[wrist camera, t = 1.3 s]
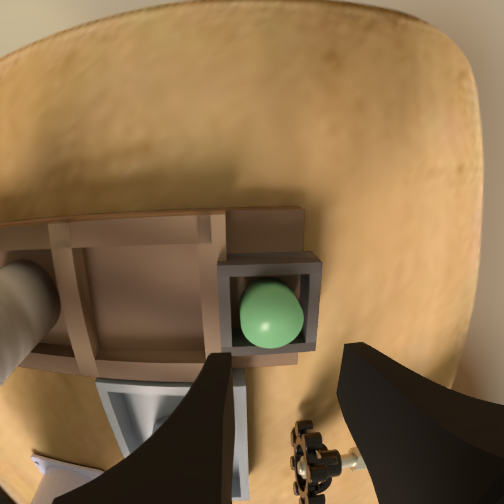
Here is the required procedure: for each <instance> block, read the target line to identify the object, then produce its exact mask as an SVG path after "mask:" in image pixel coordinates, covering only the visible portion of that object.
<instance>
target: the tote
mask: <svg viewBox="0 0 504 504" xmlns="http://www.w3.org/2000/svg"><path fill="white" fill-rule="evenodd" d="M232 374H233V392H234V411H235V445H234V461H233V477H232V501H244V500H249V473H248V441H247V406H246V381H245V371H244V368H232ZM193 383H194V382H162V381H139V380H123V379H110V378H99V377H97V379H96V381H95V384H96V387H97V390H98V393H99V396H100V399H101V402H102V405H103V407H104V410H105V413H106V416H107V418H108V421H109V423H110V426H111V428H112V431H113V433H114V436H115V438H116V441H117V443H118V445H119V448H120V450H121V452H122V455H123V457H124V459H125V458H126V457H127V456H128V455H130V454H131V453H132V452H133V451H135V450H136V449H137V448H138V447H139V446H140V445H141V444H142V443H144V442H145V441H146V440H147V439H148V438H149V437H150V436H151V435H152V430H153V426H154V424H155V423H156V421H157V420H158V419H160V418H162V417H164V416H166V415H171V414H172V412H173V411H174V410H175V408H176V407H177V406H178V404H179V403H180V402H181V401H182V399H183V398H184V397H185V395H186V394H187V392H188V391H189V389H190V387H191V386H192V384H193Z"/></svg>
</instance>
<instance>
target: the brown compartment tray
mask: <svg viewBox="0 0 504 504" xmlns="http://www.w3.org/2000/svg"><path fill="white" fill-rule="evenodd" d="M303 248H304V209H303V208H301V207H237V208H202V209H176V210H155V211H136V212H119V213H104V214H90V215H77V216H64V217H53V218H42V219H31V220H21V221H11V222H2V223H0V386H1V385H2V384H3V383H4V382H5V380H6V379H7V378H8V377H9V376H10V374H11V373H12V372H13V371H14V370H15V369H16V367H17V366H19V367H25V368H31V369H37V370H43V371H49V372H56V373H63V374H71V375H80V376H89V377H99V378H110V379H123V380H139V381H162V382H194V381H195V380H196V378H197V376H198V375H199V373H200V371H201V369H202V367H203V365H204V363H205V361H206V359H207V356H208V355H209V354H210V353H219V352H231V354H232V368H250V367H268V366H283V365H295V364H297V362H298V352H308V351H315V348H316V338H317V327H318V315H319V302H320V288H321V272H322V262H321V261H320V260H319V259H318V257H317V256H316V255H315V254H314V253H313V252H312V251H304V252H303ZM266 277H272V278H277V279H280V280H282V281H284V282H285V283H287V284H288V285H289V286H290V287H291V289H292V291H293V292H294V294H295V296H296V298H297V300H298V302H299V304H300V306H301V308H302V311H303V315H304V322H303V326H302V329H301V331H300V333H299V334H298V335H297V337H296V338H295V339H294V340H292V341H291V342H290V343H288V344H286V345H284V346H281V347H278V348H262V347H259V346H256V345H254V344H253V343H251V342H250V341H249V340H248V339H247V338H246V337H245V335H244V333H243V331H242V328H241V319H240V308H239V301H240V297H241V294H242V292H243V291H244V289H245V288H246V287H247V286H248V285H249V284H250V283H252V282H253V281H255V280H258V279H261V278H266Z"/></svg>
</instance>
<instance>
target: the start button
mask: <svg viewBox="0 0 504 504" xmlns="http://www.w3.org/2000/svg"><path fill="white" fill-rule="evenodd" d="M239 308H240V319H241V328H242V331H243V333H244V335H245V337H246V338H247V339H248V340H249V341H250V342H251V343H253V344H254V345H256V346H259V347H262V348H278V347H281V346H284V345H286V344H288V343H290V342H291V341H292V340H294V339H295V338H296V337H297V335H298V334H299V333H300V331H301V329H302V326H303V322H304V315H303V311H302V308H301V306H300V304H299V302H298V300H297V298H296V296H295V294H294V292H293V291H292V289H291V287H290V286H289V285H288V284H287V283H285V282H284V281H282V280H280V279H277V278H272V277H266V278H261V279H258V280H255V281H253V282H252V283H250V284H249V285H248V286H247V287H246V288H245V289H244V291H243V292H242V294H241V297H240V301H239Z"/></svg>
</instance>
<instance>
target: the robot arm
mask: <svg viewBox="0 0 504 504" xmlns="http://www.w3.org/2000/svg"><path fill="white" fill-rule="evenodd" d="M337 397H338V401H339V404H340V408H341V411H342V414H343V417H344V420H345V422H346V424H347V426H348V428H349V431H350V433H351V435H352V437H353V439H354V441H355V443H356V446H357V448H358V450H359V452H360V454H361V456H362V458H363V460H364V463H365V465H366V467H367V469H368V472H369V474H370V476H371V479H372V482H373V485H374V488H375V492H376V495H377V498H378V502H379V504H504V405H500V404H496V403H492V402H488V401H484V400H480V399H476V398H473V397H470V396H467V395H464V394H461V393H459V392H456V391H454V390H451V389H448V388H446V387H444V386H441V385H439V384H437V383H435V382H433V381H431V380H429V379H427V378H425V377H423V376H421V375H419V374H417V373H415V372H414V371H412V370H410V369H408V368H406V367H405V366H403V365H401V364H399V363H398V362H396V361H394V360H393V359H391V358H389V357H388V356H386V355H384V354H383V353H381V352H379V351H378V350H376V349H374V348H373V347H371V346H369V345H367V344H365V343H363V342H358V343H349V344H344V350H343V357H342V363H341V370H340V376H339V382H338V387H337ZM234 445H235V411H234V392H233V374H232V354H231V352H219V353H210V354H209V355H208V356H207V359H206V361H205V363H204V365H203V367H202V369H201V371H200V373H199V375H198V376H197V378H196V380H195V381H194V383H193V384H192V386H191V387H190V389H189V391H188V392H187V394H186V395H185V397H184V398H183V399H182V401H181V402H180V403H179V404H178V406H177V407H176V408H175V410H174V411H173V412H172V414H171V415H170V416H169V417H168V418H167V419H166V421H165V422H164V423H163V424H162V425H161V426H160V427H159V428H158V429H157V430H156V431H155V432H154V433H153V434H152V435H151V436H150V437H149V438H148V439H147V440H146V441H145V442H144V443H142V444H141V445H140V446H139V447H138V448H137V449H136V450H135V451H133V452H132V453H131V454H130V455H128V456H127V457H126V458H125V459H123V460H122V461H120V462H119V463H117V464H116V465H115V466H113V467H112V468H110V469H109V470H107V471H106V472H103V471H101V470H98V469H93V468H88V467H83V466H79V465H74V464H70V463H65V462H61V461H57V460H54V459H50V458H46V457H43V456H39V455H36V454H32V455H31V459H32V460H33V462H34V463H35V465H36V466H37V467H38V469H39V470H40V472H41V473H42V475H43V477H42V479H41V482H40V484H39V486H38V488H37V491H36V493H35V495H34V498H33V500H32V502H31V504H232V477H233V461H234Z"/></svg>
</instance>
